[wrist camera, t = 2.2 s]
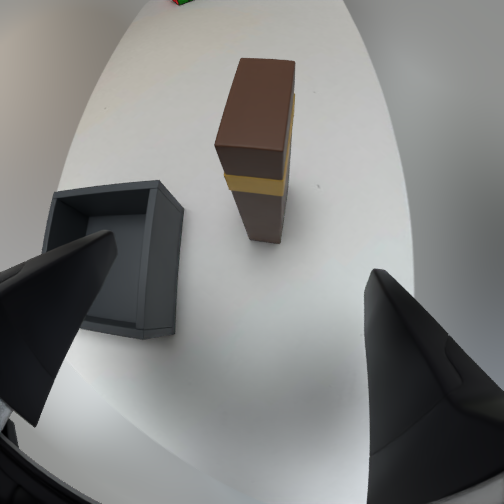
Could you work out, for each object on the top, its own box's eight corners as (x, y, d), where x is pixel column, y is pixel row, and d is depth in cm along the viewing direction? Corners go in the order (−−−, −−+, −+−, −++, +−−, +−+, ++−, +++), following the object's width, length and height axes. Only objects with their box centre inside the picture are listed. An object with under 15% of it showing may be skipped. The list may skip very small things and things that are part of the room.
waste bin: (174, 334, 21) (143, 339, 15) (76, 319, 22) (35, 317, 16) (184, 208, 23) (159, 179, 17) (88, 212, 24) (53, 191, 18)
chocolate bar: (280, 245, 21) (285, 152, 9) (248, 240, 22) (211, 146, 9) (289, 184, 22) (296, 59, 10) (258, 180, 23) (239, 56, 10)
